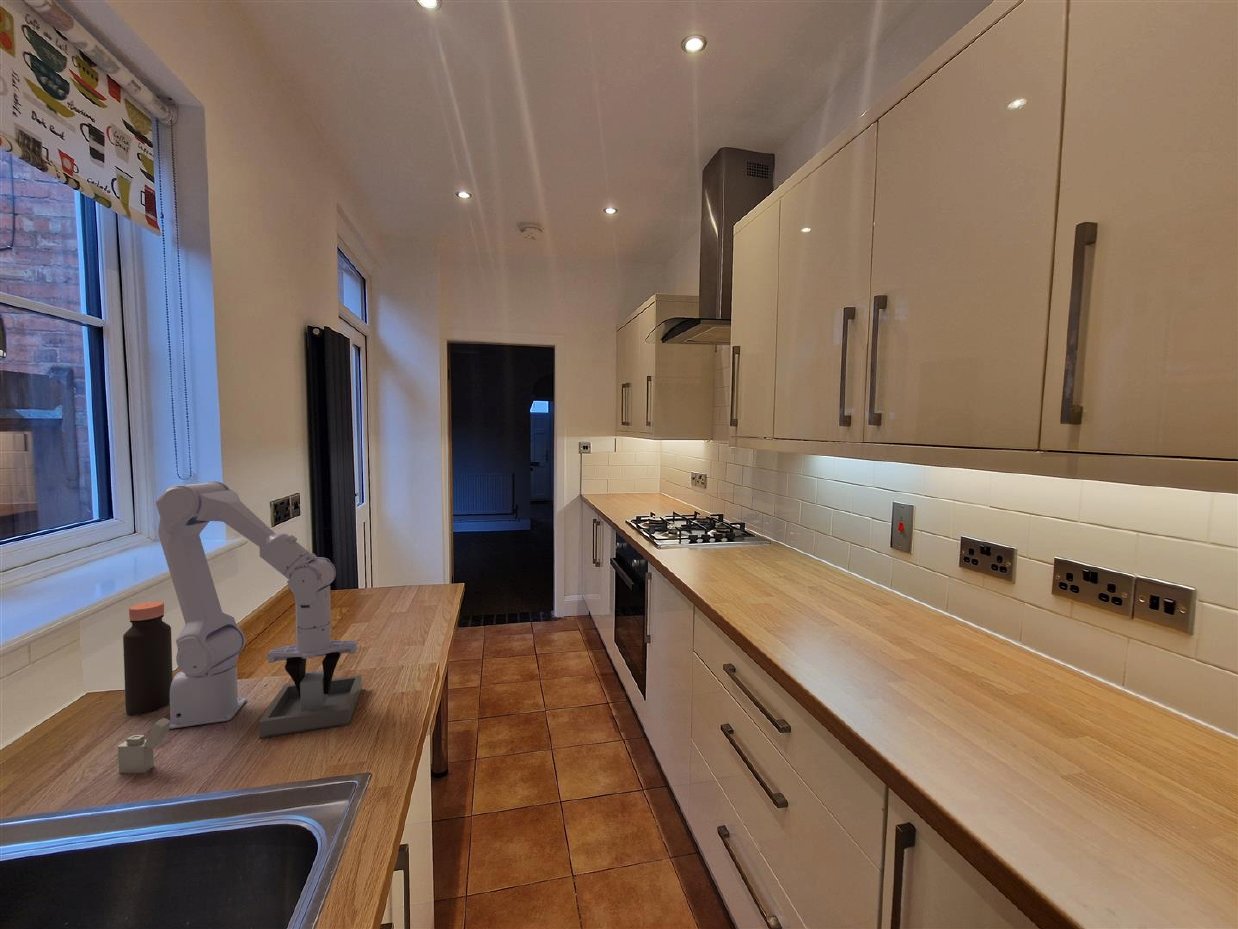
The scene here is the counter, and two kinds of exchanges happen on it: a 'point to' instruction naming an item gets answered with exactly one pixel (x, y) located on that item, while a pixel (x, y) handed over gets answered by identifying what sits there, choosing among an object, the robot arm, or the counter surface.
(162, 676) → the bottle
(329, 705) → the dark grey square tray
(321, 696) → the tall grey cuboid
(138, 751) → the lighter
